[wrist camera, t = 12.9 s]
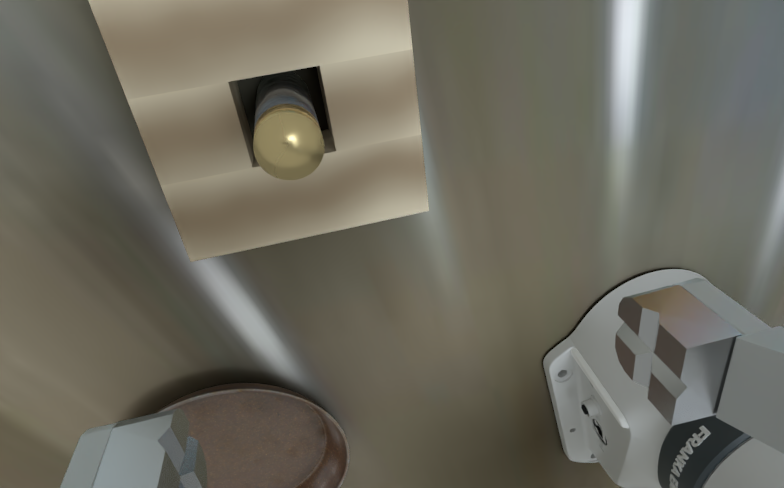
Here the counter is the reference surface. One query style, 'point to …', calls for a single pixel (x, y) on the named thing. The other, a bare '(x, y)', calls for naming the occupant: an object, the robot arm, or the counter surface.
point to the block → (230, 125)
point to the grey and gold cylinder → (286, 127)
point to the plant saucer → (265, 437)
